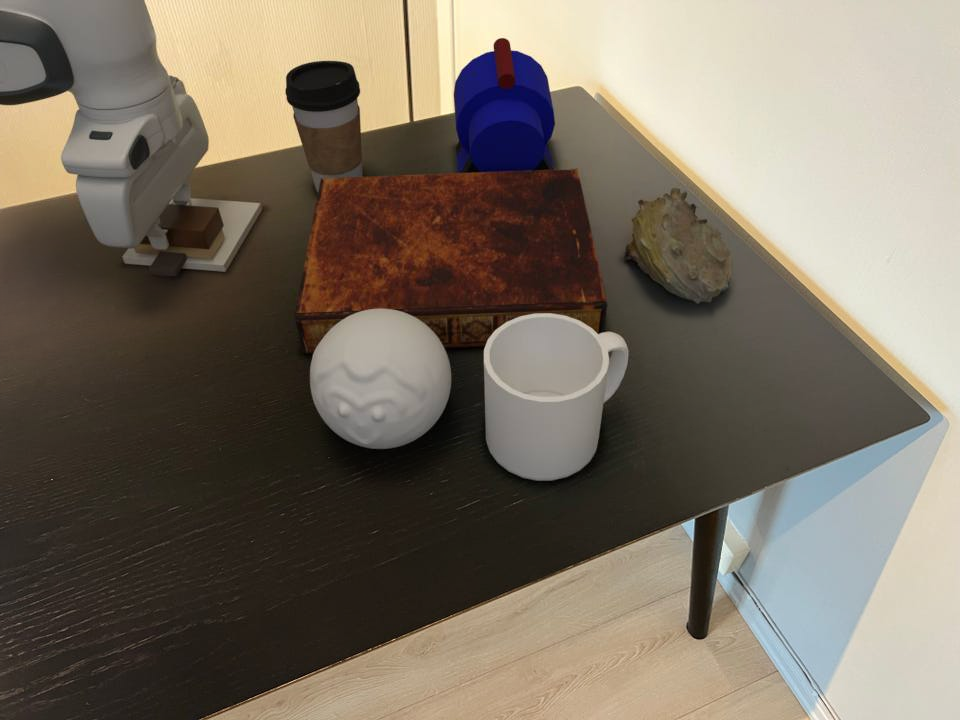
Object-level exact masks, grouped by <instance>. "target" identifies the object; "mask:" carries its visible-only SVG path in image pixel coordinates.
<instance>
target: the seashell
mask: <svg viewBox="0 0 960 720" xmlns="http://www.w3.org/2000/svg"><path fill="white" fill-rule="evenodd" d="M662 196H663V197H662V198H661V197H660V196H659V197H657V198H656V199H654V200H651V201H649V200H644V199H639V200H638V201H637V203H638V205H639V208H640V209H638V211H637V212H636V214H635V216H634V217H632V218H631V222H632V234H631V237H632V241H631V242H630V243H628V244H627V245H626V246H625V253H624V256H623V258H624V260H625V261H634V262H635V263H637V266H638V267H639V268H640V270H641V271H642V272H644V274H647V275H648V276H649V278H650V279H652V280H653V281H654V282H656V283H658V284H659V285H661V286H662V287H663V288H664V289H665V290H667V291H668V292H670V293H671V294H672V295H675V296H677V297H679V298H680V299H685V300H688V301H693V302H694V303H695V304H697V305H699V304H700V303H703V302H704V303H707V304H708V303H712V300H713V298H714V297H718V296H719V295H720V294H721V293H722V292H723V291H726V289H728V288H729V282H731V280H732V277H733V260H732V259H731V256H730V255H731V252H730V250H729V247H728V245H727V244H726V243H725V242H724V240H723V238H722V237H721V235H722V231H721V230H719V229H718V228H716V227H714V226H713V225H712V224H710V223H708V219H707V218H703V219H699V218H698V216H697V215H696V211H697V210H696V209H697V208H698V207H697V205H696V204H695V203H691V204H690V203H689V202H688V201H686V199H687V196H688V192H687V190H684V192H681V188H676V187H673V188H671V189H670V194H669V193H667V192H666V193H664V194H663V195H662Z"/></svg>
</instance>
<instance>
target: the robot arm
mask: <svg viewBox="0 0 960 720" xmlns="http://www.w3.org/2000/svg"><path fill="white" fill-rule="evenodd" d="M66 92H69V93H71V94H72V95H73V98H74V100H75V103H76V104H77V107H78V109H77V110H76V112H75V115H74V119H73V124H72V127H71V130H70V133H69V135H68V139H67V140H66V143H65V144H64V146H63V149H62V151H61V154H60V160H61V163H62V166H63V168H64V170H65V171H66V173H68V174H70V175H77V176H76V180H75V189H76V196H77V198H78V199H77V200H78V201H79V203H80V206H81V209H82V212H83V214H84V217H85V218H86V221H87V223H88V226H89V227H90V229H91V232H92V233H93V235H94V237H95V238H96V240H97V241H98V242H99V243H100V244H102V245H103V246H106V247H110V248H118V249H128V248H136V247H138V245H139V244H140V243H141V241H142V240H143V238H144V237H145V236H148V238H149V240H150V243H151V245H152V247H153V248H155V249H159V250H166V249H167V248H168V247H169V245H170V244H171V242H172V237H171V234H170V231H169V229H161V228H160V227H159V226H158V225H159V224H160V222H161V221H160V218H159V217H160V215H161V214H162V212H163V211H164V210H165V208H166V207H167V206H168V204H169V203H170V201H171V200H172V199H173V202H172V203H171V204H176V205H190V206H193V205H192V202H191V199H190V198H192V178H191V174H192V173H193V171H194V170H195V169H196V167H197V166H198V165H199V163H200V162H201V161H202V160H203V158H204V157H205V155H206V154H207V152H208V151H209V147H210V146H209V145H210V139H209V138H210V137H209V133H208V130H207V128H206V125H205V122H204V120H203V117H202V115H201V113H200V110H199V107H198V105H197V103H196V102H195V100H194V98H193V97H192V96H191V95H190V94H188V93H187V90H186V87H185V84H184V82H183V80H181V79H180V78H178V77H176V76H173V75H169V73H168V71H167V69H166V68H165V66H164V64H163V63H162V61H161V60H160V57H159V55H158V50H157V34H156V29H155V27H154V24H153V21H152V18H151V15H150V12H149V9H148V6H147V3H146V1H145V0H0V106H18V105H24V104H29V103H34V102H37V101H38V102H39V101H42V100H46V99H50V98H54V97H56V96H57V97H58V96H60V95H62V94H64V93H66Z"/></svg>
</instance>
